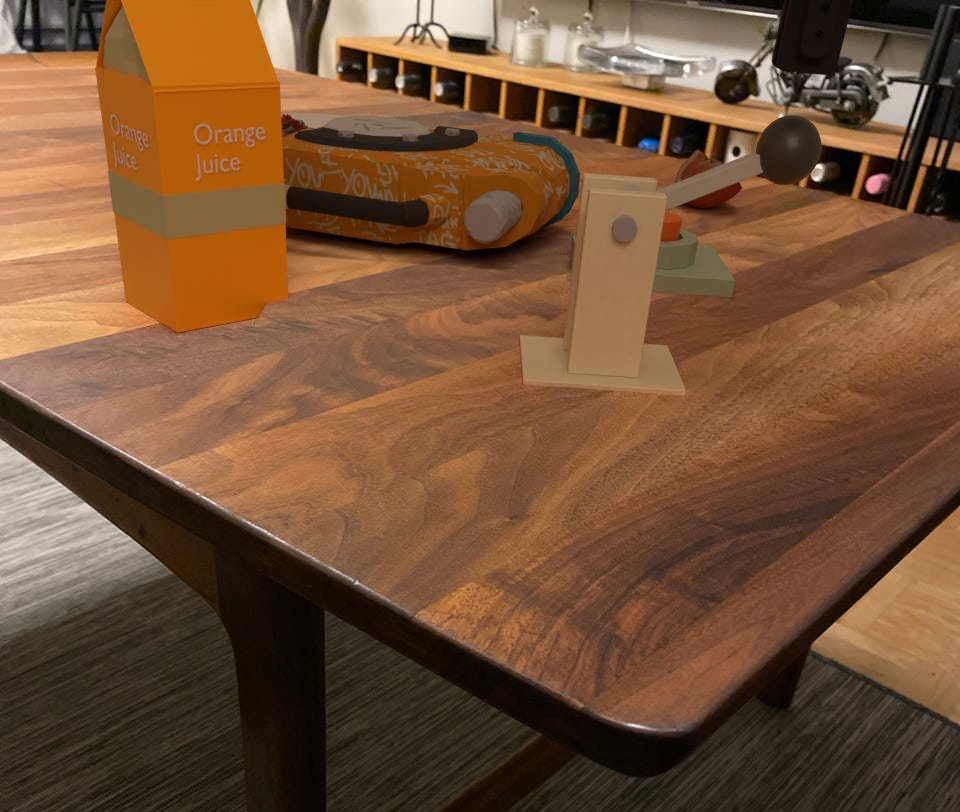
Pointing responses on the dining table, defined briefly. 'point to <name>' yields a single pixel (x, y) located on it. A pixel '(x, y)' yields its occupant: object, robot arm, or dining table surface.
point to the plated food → (304, 121)
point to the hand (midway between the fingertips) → (802, 70)
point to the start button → (671, 227)
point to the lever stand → (609, 297)
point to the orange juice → (193, 159)
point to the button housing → (688, 268)
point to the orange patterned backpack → (425, 182)
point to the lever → (757, 162)
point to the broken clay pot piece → (701, 164)
